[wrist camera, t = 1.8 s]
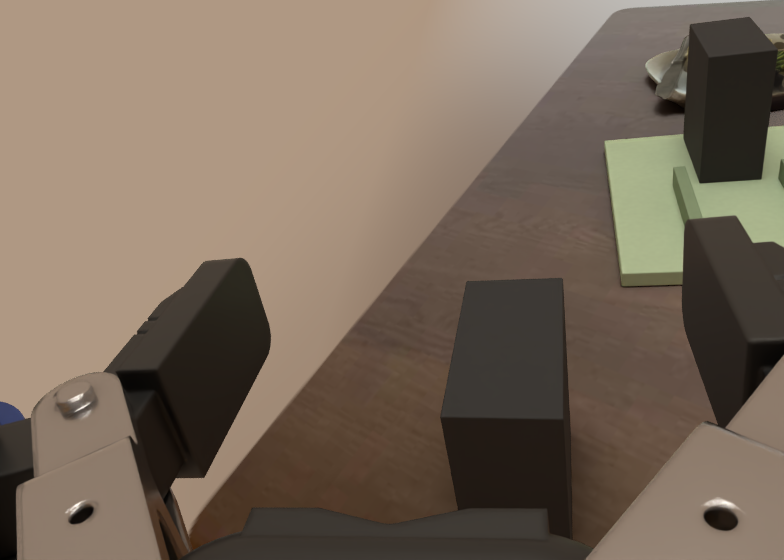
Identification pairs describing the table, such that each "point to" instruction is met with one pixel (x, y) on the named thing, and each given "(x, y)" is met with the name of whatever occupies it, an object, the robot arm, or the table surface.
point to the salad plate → (673, 73)
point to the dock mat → (659, 211)
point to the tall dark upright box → (511, 400)
